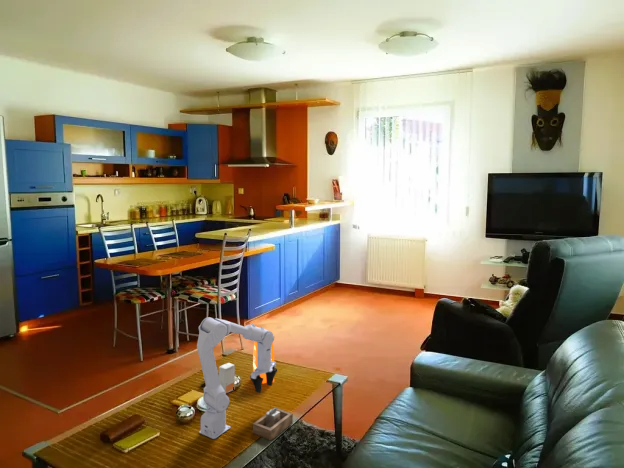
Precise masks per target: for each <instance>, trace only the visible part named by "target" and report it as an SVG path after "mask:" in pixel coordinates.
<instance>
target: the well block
mask: <svg viewBox="0 0 624 468" xmlns="http://www.w3.org/2000/svg"><path fill="white" fill-rule="evenodd" d="M276 411H279V412H280V421H279V422H277V423H276V424H275V425H274V426H272V427H271V428H268V427H266V414H264V415H263V416H262V417H260V418H259V419H257V420H256V421H255V422H253V423H252V434H253V435H255V436H258V437H261V438H263V439H265V440H267V441H268V440H269V441H273V439H275V438H276V437H277V436H278V435H279V434H281V433H282V432H283V431H285V429H287V428H289V427H290V426H291V425H292V424H293V422H294V421H293V419H294V418H293V417H294V416H293V412H289V411H286V410H284V409H281V408H278V407H276Z"/></svg>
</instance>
